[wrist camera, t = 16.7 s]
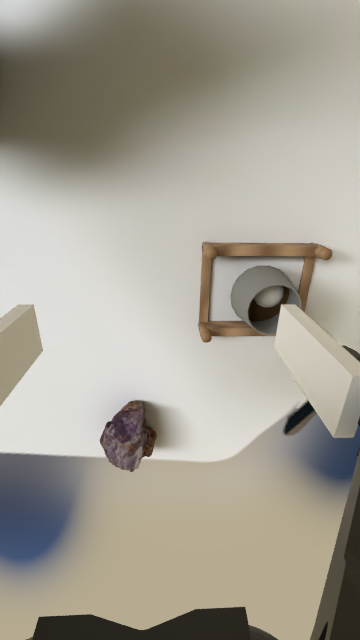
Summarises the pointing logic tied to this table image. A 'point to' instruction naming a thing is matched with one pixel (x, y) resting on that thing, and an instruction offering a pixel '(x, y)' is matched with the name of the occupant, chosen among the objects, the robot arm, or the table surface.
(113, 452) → the rock
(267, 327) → the cup
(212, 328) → the frame
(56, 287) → the table surface
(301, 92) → the table surface
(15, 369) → the robot arm
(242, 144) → the table surface
